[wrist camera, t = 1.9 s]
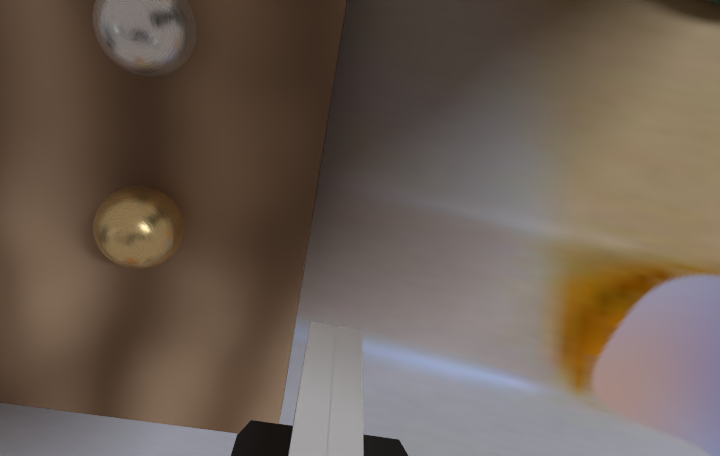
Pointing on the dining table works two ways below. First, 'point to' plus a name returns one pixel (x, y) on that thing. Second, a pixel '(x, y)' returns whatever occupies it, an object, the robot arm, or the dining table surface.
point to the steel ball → (146, 34)
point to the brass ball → (138, 227)
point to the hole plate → (183, 185)
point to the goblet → (715, 1)
